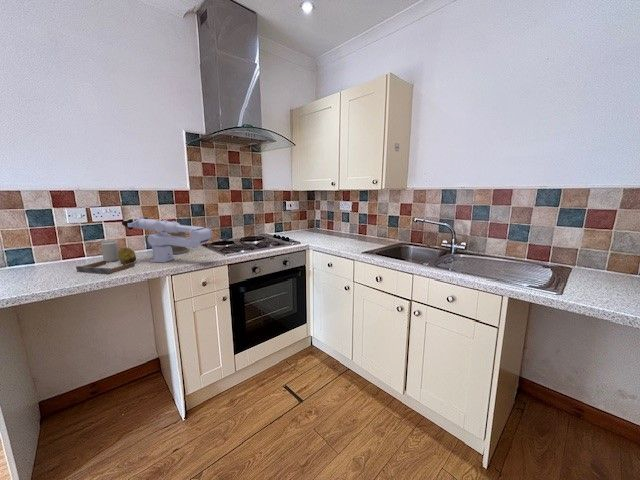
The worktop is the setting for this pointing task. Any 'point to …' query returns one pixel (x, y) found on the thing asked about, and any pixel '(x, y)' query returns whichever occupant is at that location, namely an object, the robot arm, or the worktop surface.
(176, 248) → the tankard
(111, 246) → the can
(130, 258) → the olive green oval lump
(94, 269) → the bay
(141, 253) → the worktop surface
